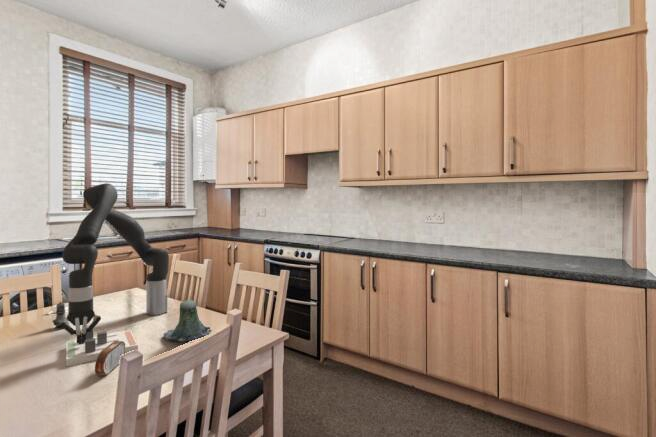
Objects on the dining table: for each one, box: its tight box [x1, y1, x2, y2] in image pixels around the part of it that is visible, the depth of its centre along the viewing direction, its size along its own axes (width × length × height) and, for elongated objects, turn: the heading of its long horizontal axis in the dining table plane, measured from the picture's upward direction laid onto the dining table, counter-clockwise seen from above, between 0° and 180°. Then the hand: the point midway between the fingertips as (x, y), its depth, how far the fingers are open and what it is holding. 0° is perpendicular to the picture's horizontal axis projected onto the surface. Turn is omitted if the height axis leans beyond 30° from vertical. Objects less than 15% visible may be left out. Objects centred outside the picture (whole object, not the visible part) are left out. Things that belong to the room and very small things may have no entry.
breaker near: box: [85, 338, 95, 353], centre depth 126 cm, size 3×2×4 cm
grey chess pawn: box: [52, 301, 67, 331], centre depth 154 cm, size 6×6×12 cm
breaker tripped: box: [96, 330, 108, 345], centre depth 133 cm, size 3×2×4 cm
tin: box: [94, 341, 126, 376], centre depth 119 cm, size 15×3×8 cm, turn 5°
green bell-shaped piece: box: [163, 299, 212, 345], centre depth 147 cm, size 19×21×19 cm
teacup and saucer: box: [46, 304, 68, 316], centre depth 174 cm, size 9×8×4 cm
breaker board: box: [65, 329, 139, 367], centre depth 133 cm, size 22×18×3 cm
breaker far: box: [86, 328, 94, 340], centre depth 136 cm, size 3×2×4 cm
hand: (81, 343), depth 129 cm, fingers closed
